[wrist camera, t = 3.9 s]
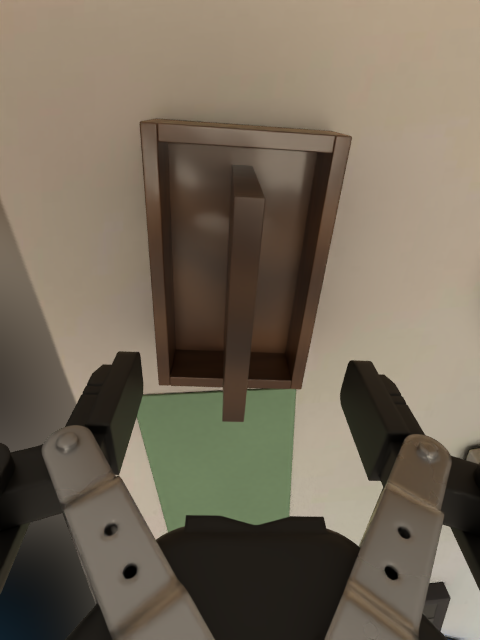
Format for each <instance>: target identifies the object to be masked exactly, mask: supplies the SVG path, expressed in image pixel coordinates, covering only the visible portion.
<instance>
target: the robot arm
mask: <svg viewBox="0 0 480 640" xmlns="http://www.w3.org/2000/svg"><path fill="white" fill-rule="evenodd" d="M142 396H143V376H142V367H141V357H140V353H139V352H120V351H119V352H118V353H117V355H116V357H115V359H114V361H113V363H112V365H104V364H103V365H102V366H101V367H99V368H98V369H97V370H96V371H95V372H94V373H92V375H91V377H90V379H89V381H88V383H87V386H86V387H85V389H84V391H83V395H81V397H80V399H79V401H78V403H77V405H76V406H75V408H74V410H73V412H72V414H71V416H70V418H69V420H68V422H67V424H66V426H65V427H64V428H61V429H59V430H57V431H55V432H54V433H52V434H51V435H50V436H49V437H48V438H47V439H46V441H45V442H44V444H42V445H40V446H36V447H32V448H28V449H24V450H19V451H15V452H11V453H10V451H9V448H8V447H7V446H6V445H4V444H2V443H0V593H1V591H2V588H3V586H4V584H5V581H6V579H7V577H8V574H9V572H10V570H11V567H12V564H13V562H14V560H15V558H16V555H17V553H18V550H19V548H20V546H21V543H22V541H23V538H24V536H25V534H26V531H27V529H28V526H29V524H30V522H33V521H37V520H40V519H43V518H47V517H50V516H54V515H57V514H61V513H63V516H64V519H65V521H66V524H67V527H68V529H69V532H70V534H71V537H72V540H73V543H74V545H75V548H76V551H77V553H78V556H79V559H80V562H81V564H82V567H83V570H84V572H85V575H86V578H87V581H88V584H89V586H90V589H91V592H92V595H93V597H94V600H95V603H96V606H95V607H94V608H93V609H92V610H91V611H90V612H89V613H88V615H87V616H86V617H85V618H84V619H83V620H82V621H81V622H80V624H79V625H78V626H77V627H76V628H75V629H74V631H73V632H72V633H71V634H70V635H69V636H68V637H67V638H66V640H448V639H447V638H446V637H445V636H444V635H443V634H442V633H441V632H440V631H439V630H438V629H437V627H436V626H435V625H434V624H433V623H432V622H431V621H430V620H429V619H428V618H427V617H426V616H425V615H424V614H423V608H424V604H425V599H426V595H427V591H428V586H429V582H430V577H431V573H432V568H433V564H434V559H435V555H436V550H437V546H438V542H439V537H440V533H441V528H442V524H443V525H446V526H449V527H451V529H452V532H453V534H454V536H455V538H456V540H457V542H458V545H459V547H460V549H461V551H462V553H463V555H464V558H465V560H466V562H467V564H468V566H469V568H470V571H471V573H472V575H473V577H474V579H475V581H476V584H477V586H478V588H479V590H480V463H479V464H477V463H474V462H470V461H467V460H463V459H460V458H456V457H453V456H450V454H449V452H448V450H447V449H446V448H445V447H444V446H443V445H442V444H441V443H440V442H438V441H437V440H435V439H433V438H431V437H429V436H426V435H425V434H424V432H423V431H422V429H421V427H420V426H419V424H418V422H417V421H416V419H415V417H414V415H413V414H412V412H411V410H410V409H409V407H408V405H406V402H405V400H404V398H403V397H402V396H401V393H400V392H399V390H398V388H397V387H396V385H395V384H394V383H393V382H392V381H391V380H390V379H389V378H388V377H386V376H385V375H379V374H378V372H377V371H376V369H375V367H374V365H373V363H372V362H371V361H354V360H351V361H350V362H349V363H348V366H347V370H346V373H345V377H344V381H343V384H342V388H341V393H340V401H341V406H342V409H343V412H344V414H345V417H346V420H347V423H348V425H349V428H350V431H351V433H352V436H353V439H354V442H355V444H356V447H357V450H358V452H359V455H360V458H361V461H362V463H363V466H364V469H365V472H366V474H367V477H368V480H369V481H381V482H382V485H383V489H382V492H381V494H380V496H379V499H378V501H377V504H376V506H375V508H374V511H373V513H372V516H371V518H370V521H369V523H368V525H367V528H366V530H365V533H364V535H363V538H362V540H361V542H360V545H359V547H358V546H357V545H356V544H355V543H354V542H352V541H351V540H349V539H348V538H346V537H345V536H343V535H341V534H339V533H337V532H334V531H332V530H329V529H326V526H325V521H324V517H295V516H290V517H286V518H282V519H279V520H275V521H271V522H267V523H264V524H260V525H252V524H249V523H245V522H242V521H238V520H234V519H231V518H227V517H224V516H218V515H186V519H185V526H184V527H180V528H177V529H175V530H172V531H170V532H168V533H166V534H164V535H162V536H161V537H159V538H158V539H157V540H155V538H154V536H153V534H152V532H151V531H150V529H149V527H148V525H147V523H146V522H145V520H144V518H143V516H142V514H141V513H140V511H139V509H138V507H137V505H136V504H135V502H134V500H133V498H132V496H131V495H130V493H129V491H128V489H127V487H126V486H125V484H124V482H123V480H122V479H121V478H120V476H117V477H116V476H115V475H119V473H120V470H121V467H122V463H123V460H124V457H125V453H126V450H127V447H128V443H129V440H130V437H131V433H132V430H133V427H134V424H135V420H136V417H137V414H138V410H139V407H140V404H141V400H142Z"/></svg>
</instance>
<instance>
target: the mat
mask: <svg viewBox="0 0 480 640" xmlns="http://www.w3.org/2000/svg"><path fill="white" fill-rule="evenodd" d="M295 398H296V389H251V390H247V395H246V406H245V416H244V422H223V421H222V407H223V391H212V392H192V393H172V394H152V395H143V396H142V400H141V404H140V407H139V410H138V414H137V419H138V423H139V426H140V430H141V434H142V437H143V441H144V445H145V449H146V452H147V456H148V460H149V463H150V467H151V471H152V474H153V478H154V482H155V485H156V489H157V493H158V496H159V500H160V504H161V507H162V511H163V515H164V519H165V522H166V526H167V530H168V532H170V531H172V530H175V529H177V528H180V527H184V526H185V519H186V515H218V516H224V517H227V518H231V519H234V520H238V521H242V522H245V523H249V524H252V525H260V524H264V523H267V522H271V521H275V520H279V519H282V518H286V517H289V509H290V491H291V472H292V453H293V435H294V416H295Z"/></svg>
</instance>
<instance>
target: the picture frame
mask: <svg viewBox="0 0 480 640" xmlns="http://www.w3.org/2000/svg"><path fill="white" fill-rule="evenodd" d="M449 601H450V596H449V594H448V591H447V589H446V587H445V585H444V583H443V582H442V583H433V584H429V586H428V591H427V595H426V599H425V604H424V608H423V614H424V615H425V616H426V617H427V618H428V619H429V620H430V621H431V622H432V623H433V624H434V625H435V626H436V627H437V629H438V630H439V631H441V628H442V624H443V621H444V618H445V614H446V611H447V608H448V605H449Z"/></svg>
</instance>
